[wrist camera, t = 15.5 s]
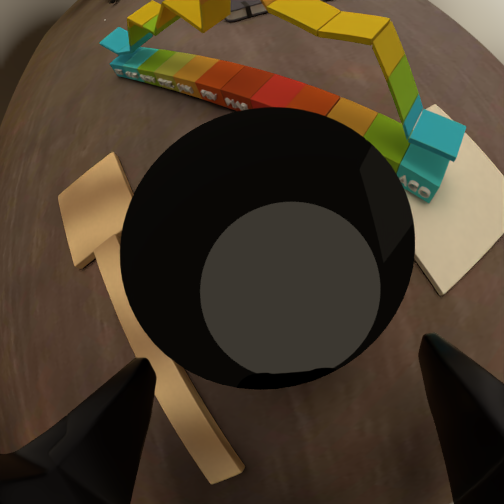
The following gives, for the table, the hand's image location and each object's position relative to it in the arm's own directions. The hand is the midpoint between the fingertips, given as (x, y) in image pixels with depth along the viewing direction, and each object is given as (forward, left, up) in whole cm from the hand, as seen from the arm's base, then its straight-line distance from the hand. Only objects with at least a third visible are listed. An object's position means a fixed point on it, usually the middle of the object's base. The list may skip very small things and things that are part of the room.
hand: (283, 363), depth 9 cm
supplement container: (+3, -1, -7) cm, 8 cm away
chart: (+17, -7, -6) cm, 19 cm away
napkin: (+3, -14, -7) cm, 15 cm away
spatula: (+8, +6, -7) cm, 12 cm away
